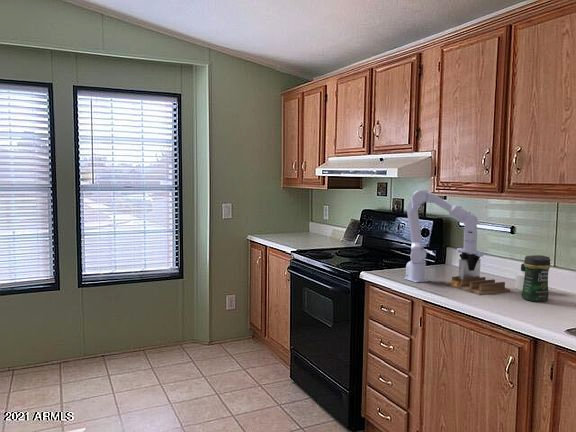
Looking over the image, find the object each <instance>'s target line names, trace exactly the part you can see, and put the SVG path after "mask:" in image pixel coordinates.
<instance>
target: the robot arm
mask: <svg viewBox="0 0 576 432" xmlns="http://www.w3.org/2000/svg"><path fill="white" fill-rule="evenodd" d="M425 203H429V204H430V203H431V204H435V205H437V206H438V207H440V208H442V209H444V210H445V211H447V212H448V214H449V217H451V218H453V219H454V220H456V221H458V222H459V223H463V225H464V231H463V246H462V247H463V248H462V247H457V248H456V253H459V258H460V259H469V268H470V271H474V269H475V266H476V263H477V261H478V260H479V259H481V257H484V252H483V251H480V250H478V249H477V247H478V223H479V218H478V217H477V216H476V215H475V214H472V212H470V211H467V210H465V209H464V208H463V206H461V205H457V204H455V205H452V204H451V203H449V202H447V201H446V200H444V199H443V198H441V197H439V195H437V194H435V193H432V192H431V191H428V190H427V189H417V190H416V191H414V192H413V194H412V195H411V197H410V199H409V201H408V203H407V206H406V212H407V220H408V227H409V234H410V235H409V236H410V243H411V246H410V250H411V251H410V255H409V257H410V261H408V262H407V263H406V265H405V277H404V280H408V281H410V282H414V283H425V282H430V280H429V279H427V278H426V272H427V271H426V269H427V267H426V266H427V263H426V262H427V261H426V260H425V259H426V258H427V251H426V249H425V248H424V244H423V241H422V235H421V232H422V231H421V227H420V226H421V225H420V220H419V219H420V217H419V211H418V210H419V208H420V207H421V206H422V205H423V204H425Z"/></svg>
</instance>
